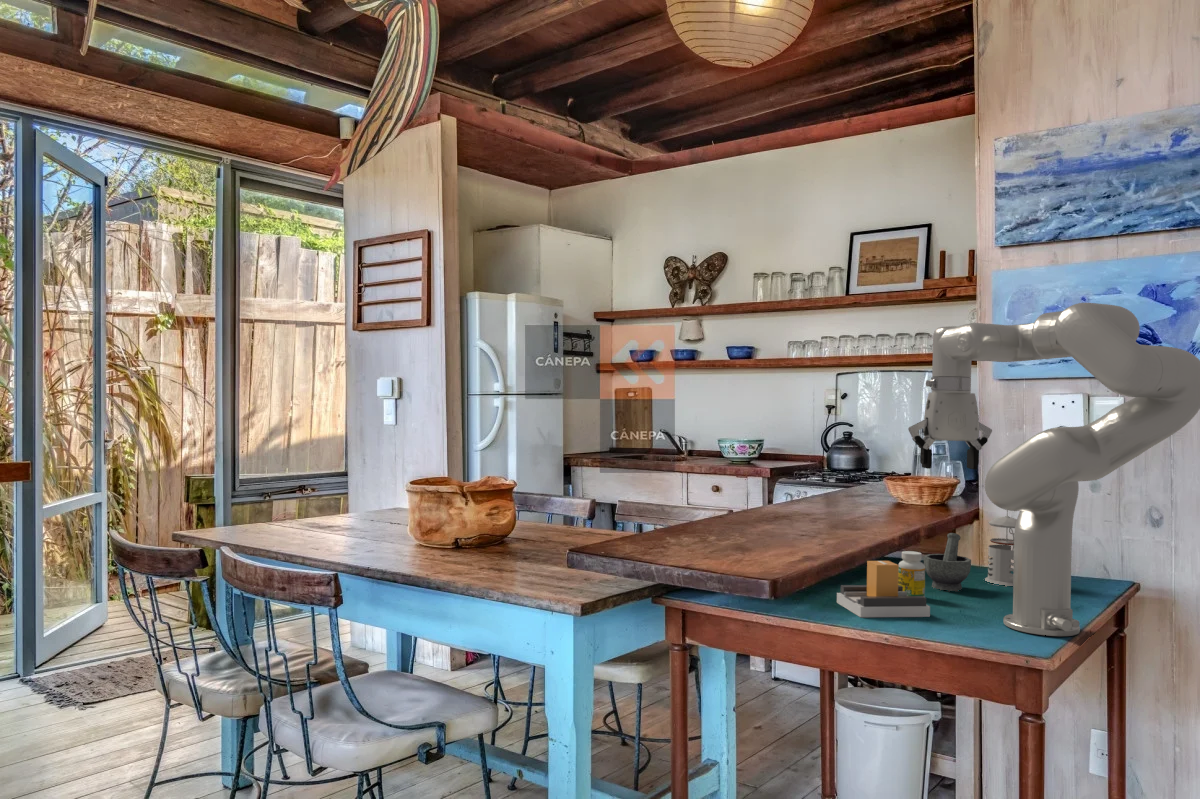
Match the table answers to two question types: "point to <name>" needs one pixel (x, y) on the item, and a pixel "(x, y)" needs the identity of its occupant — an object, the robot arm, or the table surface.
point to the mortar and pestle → (948, 566)
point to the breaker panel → (882, 609)
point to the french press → (1001, 554)
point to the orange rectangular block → (882, 578)
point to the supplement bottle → (912, 574)
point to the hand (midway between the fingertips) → (949, 468)
